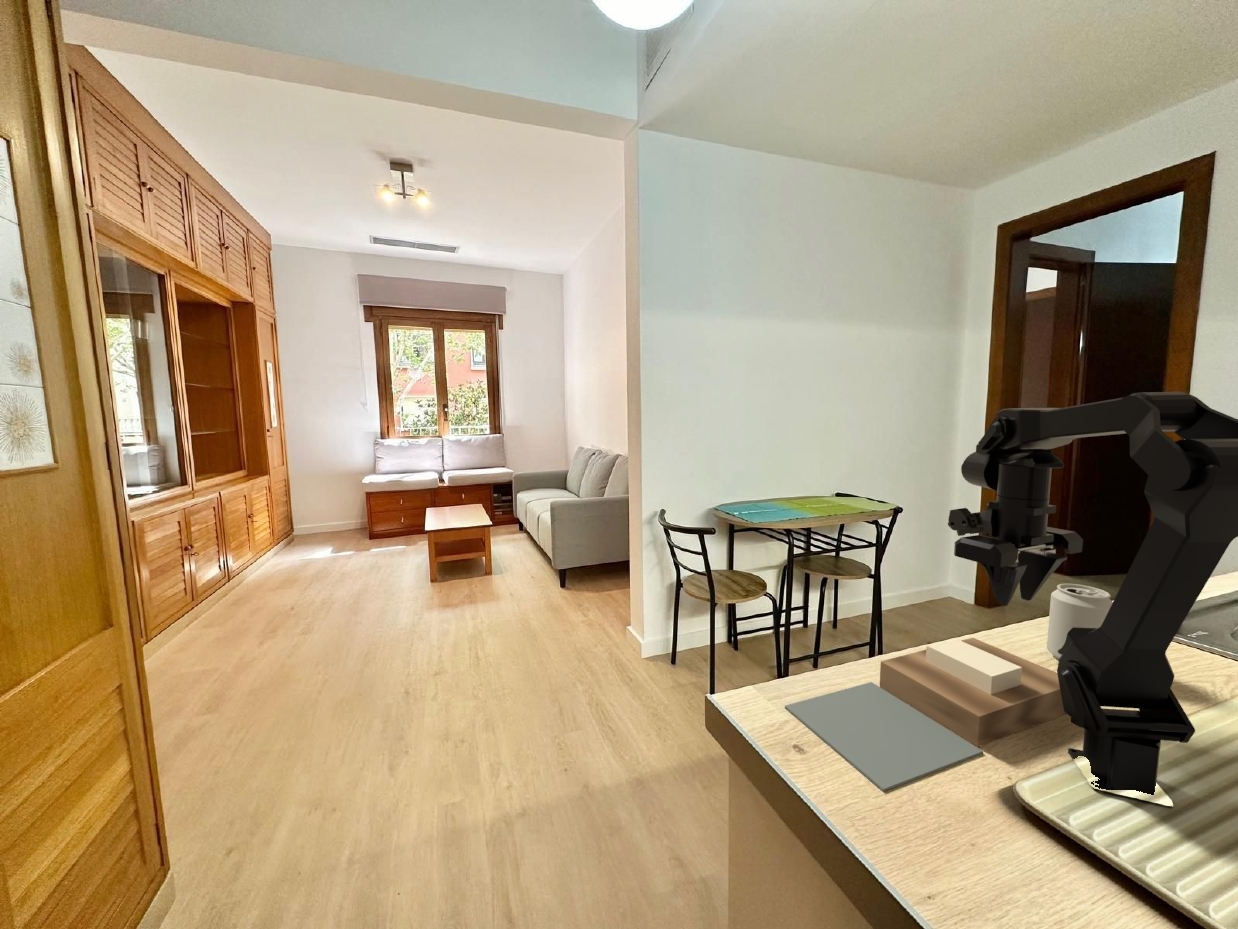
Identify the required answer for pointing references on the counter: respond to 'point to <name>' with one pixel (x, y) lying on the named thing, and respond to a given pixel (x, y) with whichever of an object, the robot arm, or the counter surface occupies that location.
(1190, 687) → the counter surface
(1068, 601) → the can
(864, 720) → the mat
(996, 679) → the tile
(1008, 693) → the block
